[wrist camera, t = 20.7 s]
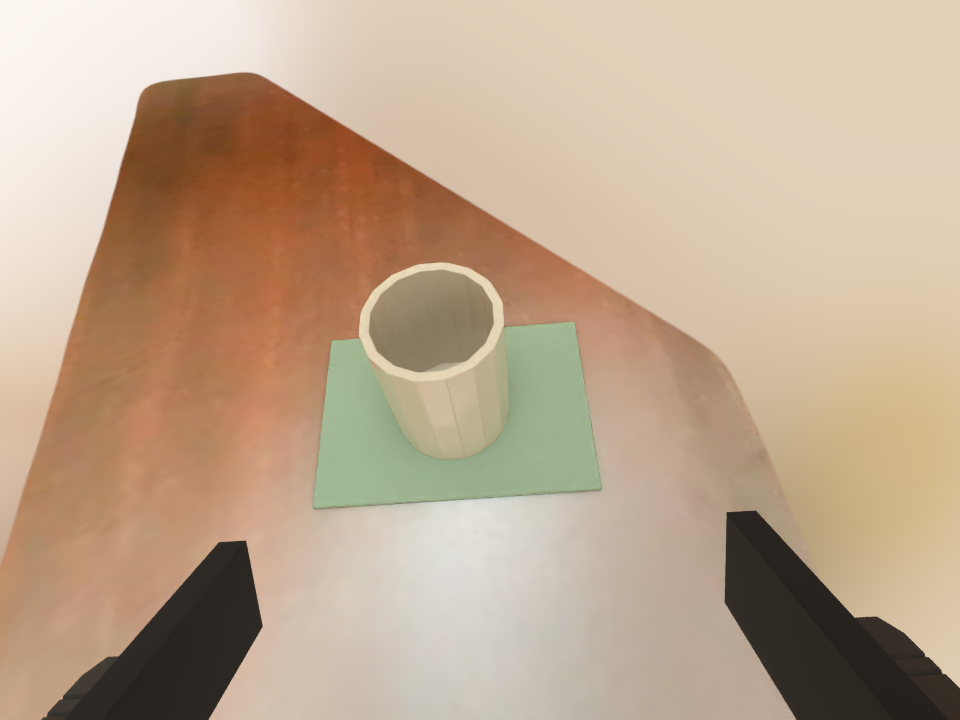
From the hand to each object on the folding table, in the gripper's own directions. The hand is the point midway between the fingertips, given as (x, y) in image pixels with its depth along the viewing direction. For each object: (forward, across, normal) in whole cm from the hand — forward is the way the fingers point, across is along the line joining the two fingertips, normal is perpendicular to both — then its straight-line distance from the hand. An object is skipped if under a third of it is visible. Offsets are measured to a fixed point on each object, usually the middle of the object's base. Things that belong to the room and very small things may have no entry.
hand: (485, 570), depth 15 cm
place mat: (+27, -3, -4) cm, 27 cm away
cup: (+27, -3, -4) cm, 27 cm away
